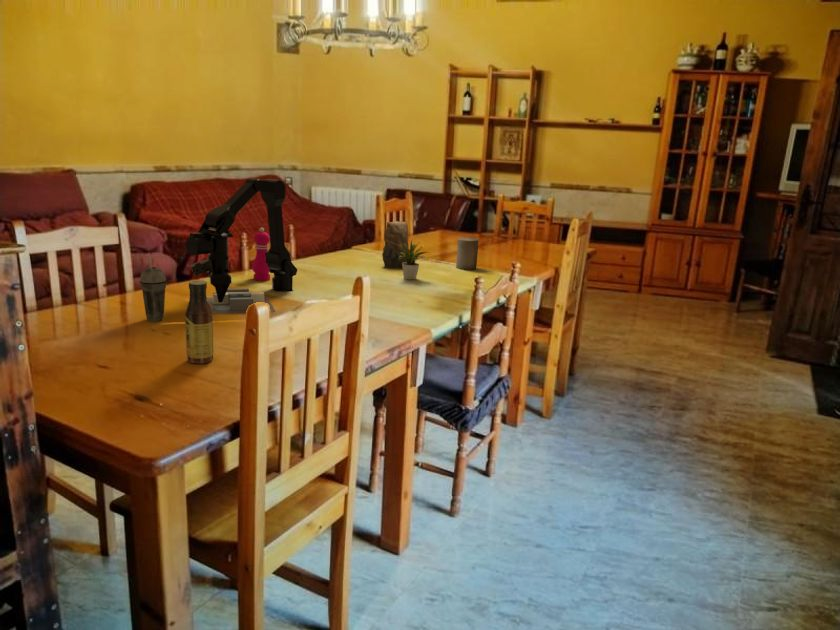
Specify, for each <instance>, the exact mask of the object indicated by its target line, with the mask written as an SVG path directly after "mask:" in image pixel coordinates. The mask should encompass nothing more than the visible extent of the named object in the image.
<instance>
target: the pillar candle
mask: <svg viewBox="0 0 840 630" xmlns="http://www.w3.org/2000/svg"><path fill="white" fill-rule="evenodd" d="M479 241H480V240H479V239H478V238H475V237H470V236H468V237H457V248H456V260H455V261H456V264H455V268H457V269H458V268H459V270H463V269H465V270H464V271H471V270H473V271H474V269H475V270H477V269H476V268H477V264H478V253H479Z"/></svg>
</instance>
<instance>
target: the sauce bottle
mask: <svg viewBox="0 0 840 630" xmlns="http://www.w3.org/2000/svg"><path fill="white" fill-rule="evenodd" d="M207 285H208V284H207V281H205V280H199V279H198V280H197V279H196V280H191V281H189V282H188V289H189V301H188V304H187V308H186V310H185V312H184V323H185V324H184V325H185V326H184V327H185V328H184V329H185V346H186V347H185V349H186V356H187V361H188V363H191V364H195V365H196V364H201V365H202V364H207V363H209V362H211V361H213V360H214V327H213V326H214V323H213V322H214V321H213V314H212V309H211V307H210V305H209V304H208V302H207V301H206V300H207V298H208V297H207V288H208V287H207Z"/></svg>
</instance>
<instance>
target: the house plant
mask: <svg viewBox="0 0 840 630" xmlns="http://www.w3.org/2000/svg"><path fill="white" fill-rule="evenodd" d="M420 243H421V241H418V242H417V244H416V242H413V240H412V239H411V240H410V244H409V246H410V247H409V249H408V247H407V245H405V243H404V245H405V248H406V251H407V253H406V251H405V249H404V247H403V246H401V245H400V247H401V249H402V248H403V249H402V250H403V251H404V253H405V254H404V253H403V252H401V253H400V254H402V255H404V256H405V257H404V258H403V259H405V260H406V262H404V263H402V266H403V269H402V273H403V280H407V279H415V280H416V279H417V276H418V271H419V267H420V263H417V261H419V259H424V260H426V259H427V257H426V255H424V254H426V253H430V251H420V250H422V249H425V248H426V247H425V246H426V244H423V245H422V246H420V247H419V248H418V249H417V250H416V248H417V246H418V245H419V244H420ZM395 245H397V244H395ZM415 250H416V251H415ZM419 251H420V252H419ZM399 257H403V256H401V255H400V256H399ZM400 259H401V258H400Z"/></svg>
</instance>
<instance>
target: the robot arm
mask: <svg viewBox="0 0 840 630" xmlns="http://www.w3.org/2000/svg"><path fill="white" fill-rule="evenodd" d="M286 188H287V187H286V184H285V183H284V182H283V181H282V180H280V179H270V178H265V179H263V180H260V179H259V178H252V177H249V178H246V179H245V181H244V183H243V184H242V185H241V186H240V187H239V188H238V189H237V191H235V192H234V193H233V194H232V195H231V197H229V198H228V199H227V200H226V202H224V203H223V204H222V205H220V206H217V207H214V208H213V209H212V210H210V211H209V212H208V213H206V215H205V216H204V221H203V222H202V224H201V225H200V228H199V229H198V232H190V233H189V237H187V238H186V242H185V244H184V245H185V246H184V247H185V250H186V252H187V253H188V255H189V256H192V257H193V256H197V255H198V256H199V255H207V254H208V255H207V258H206V259H202V260H200V261H197V262H194V263H191V264H190V270H191V271H192V273H193V276H194V277H197V276H200V275H201V274H204V273H206V272H207V274H208V278H209V282H210V285H211V286H213V287H214V290H215V293H217V297H218V302H222V301H223V299H224V297H225V294H226V293H227V290H228V289H229V287H230V285H231V284H232V275H231V274H230V269H229V257H230V256H229V242H228V241H229V238H234V235H233V233H232V232H231V231H230V228H231V227H232V226H233V224H234V222H235V221H236V216H237V214H238V213H239V212H240V211H242V209H243V208H244V207H245V206H246V205H247V204H248V203H249V202H250V201H251V199H253V197H254V196H256V194H258V193H259V192H260V195H261V199H262V201H263V202H264V204H265V206H266V211H267V222H268V234H269V236H270V241H269V244H270V247H269V248H268V250H267V252H265V257H266V262H265V263H267V266H268V267H269V270H270V272H269V274H273V277H271V279H272V280H271V286H272V287H271V289H272V290H273V291H275V293H276V292H279V293H280V292H285V293H286V292H294V290H293V286H294V285H293V281H294V279H293V277H294V276H297V273H298V268H297V267H296V266H295V265H294V263H293V262H292V258H291V254H290V251H289V250H288V249H287V247H286V242H285V231H284V230H285V229H284V218H283V207H282V205H283V204H284V202H285V199H286Z"/></svg>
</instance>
